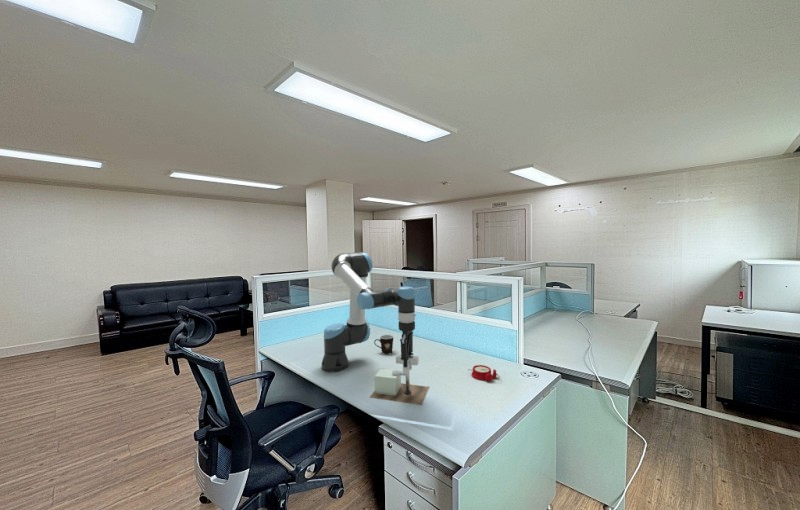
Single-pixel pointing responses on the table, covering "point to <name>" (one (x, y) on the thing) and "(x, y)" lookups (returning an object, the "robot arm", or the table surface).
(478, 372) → the alarm clock
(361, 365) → the table surface
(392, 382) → the pale green block
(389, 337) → the coffee mug
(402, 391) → the board
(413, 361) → the grey t-shaped stand
